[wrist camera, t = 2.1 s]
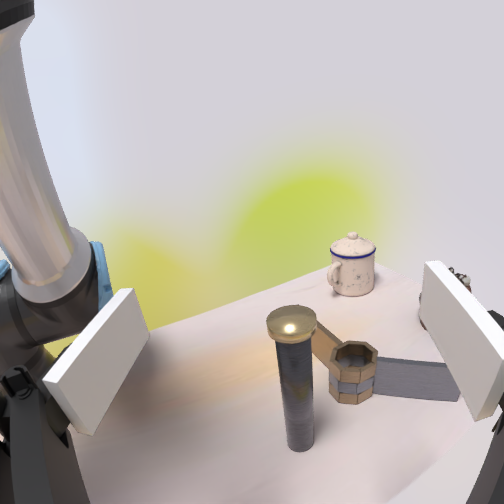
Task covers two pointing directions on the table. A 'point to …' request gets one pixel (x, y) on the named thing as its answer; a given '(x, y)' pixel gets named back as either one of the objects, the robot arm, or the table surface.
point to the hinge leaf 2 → (401, 379)
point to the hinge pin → (295, 370)
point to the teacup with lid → (352, 265)
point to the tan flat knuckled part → (329, 353)
